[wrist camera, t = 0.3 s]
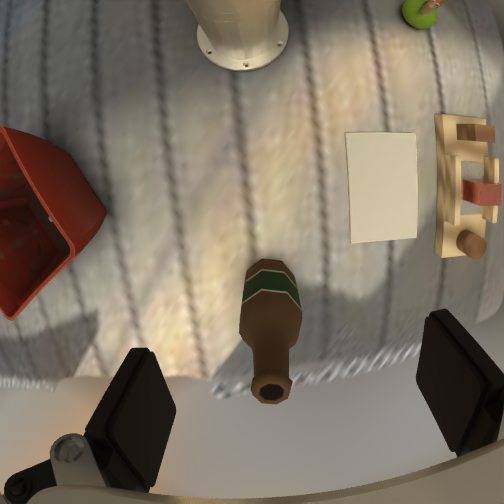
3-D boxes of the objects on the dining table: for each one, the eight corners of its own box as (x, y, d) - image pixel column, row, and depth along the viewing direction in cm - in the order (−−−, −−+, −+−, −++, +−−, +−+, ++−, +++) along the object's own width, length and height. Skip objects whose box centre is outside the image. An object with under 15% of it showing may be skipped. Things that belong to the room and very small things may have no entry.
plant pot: (71, 122, 41) (-1, 122, 25) (135, 216, 46) (77, 253, 30) (12, 195, 45) (-53, 218, 29) (65, 277, 50) (10, 323, 34)
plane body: (434, 115, 39) (460, 112, 31) (477, 119, 38) (504, 119, 31) (434, 252, 46) (457, 269, 39) (474, 248, 45) (499, 263, 38)
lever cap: (455, 161, 38) (478, 165, 32) (479, 162, 38) (503, 167, 32) (454, 213, 41) (476, 224, 35) (477, 212, 41) (500, 222, 35)
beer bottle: (304, 271, 48) (334, 379, 25) (278, 311, 50) (285, 429, 27) (259, 247, 47) (254, 345, 24) (234, 289, 49) (212, 402, 26)
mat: (344, 132, 41) (345, 132, 40) (413, 133, 40) (415, 133, 39) (350, 242, 46) (350, 243, 45) (415, 236, 45) (416, 237, 44)
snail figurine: (386, 16, 34) (419, -14, 22) (408, -2, 32) (442, -31, 21) (412, 41, 35) (451, 19, 24) (432, 23, 33) (471, 0, 22)
